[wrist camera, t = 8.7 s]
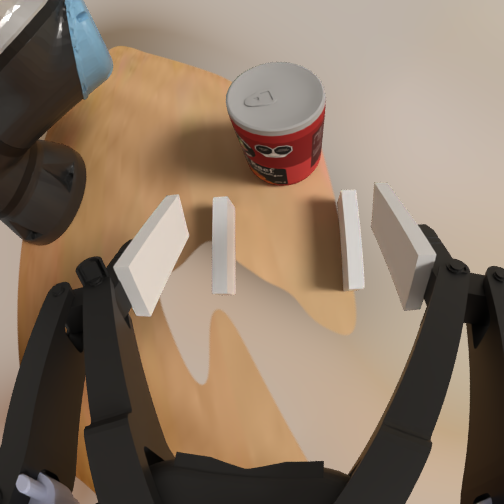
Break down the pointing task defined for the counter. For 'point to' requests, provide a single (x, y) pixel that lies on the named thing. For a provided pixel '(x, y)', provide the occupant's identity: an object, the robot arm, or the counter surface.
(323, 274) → the counter surface
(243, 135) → the canned food
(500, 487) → the robot arm
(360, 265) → the channel
